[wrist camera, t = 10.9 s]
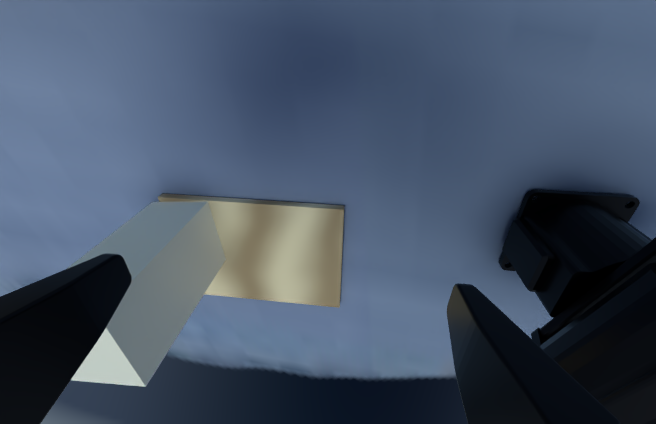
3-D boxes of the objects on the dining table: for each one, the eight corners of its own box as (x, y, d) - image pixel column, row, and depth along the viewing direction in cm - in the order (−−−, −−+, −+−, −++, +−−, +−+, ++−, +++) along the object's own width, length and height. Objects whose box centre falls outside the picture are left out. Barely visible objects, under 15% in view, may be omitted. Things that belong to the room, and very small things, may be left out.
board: (344, 205, 22) (343, 209, 21) (339, 302, 27) (339, 307, 26) (162, 193, 23) (157, 197, 22) (191, 287, 28) (188, 292, 27)
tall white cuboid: (208, 201, 22) (98, 316, 13) (225, 259, 25) (145, 386, 16) (152, 201, 23) (11, 311, 14) (176, 258, 25) (71, 380, 16)
